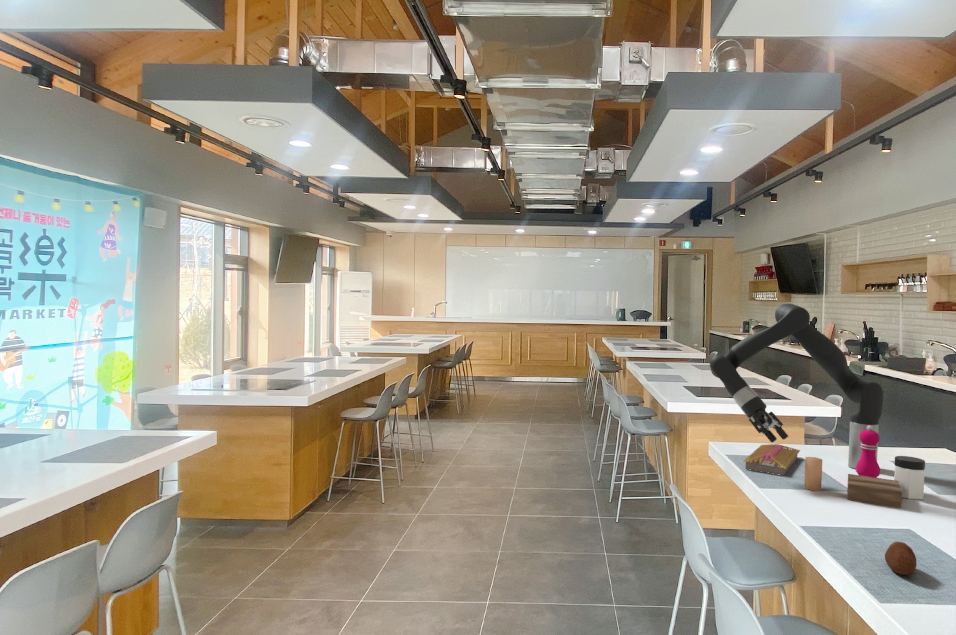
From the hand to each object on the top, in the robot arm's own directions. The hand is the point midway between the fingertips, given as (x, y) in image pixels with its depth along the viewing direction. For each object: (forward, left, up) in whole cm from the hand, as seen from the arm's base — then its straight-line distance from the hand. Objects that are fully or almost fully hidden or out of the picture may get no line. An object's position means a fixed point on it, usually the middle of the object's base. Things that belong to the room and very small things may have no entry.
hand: (780, 439), depth 215 cm
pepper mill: (-15, +27, -14) cm, 34 cm away
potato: (+66, +31, -15) cm, 74 cm away
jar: (-6, +38, -14) cm, 41 cm away
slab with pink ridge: (-25, -4, -15) cm, 29 cm away
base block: (+4, +28, -14) cm, 31 cm away
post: (+4, +11, -14) cm, 18 cm away
